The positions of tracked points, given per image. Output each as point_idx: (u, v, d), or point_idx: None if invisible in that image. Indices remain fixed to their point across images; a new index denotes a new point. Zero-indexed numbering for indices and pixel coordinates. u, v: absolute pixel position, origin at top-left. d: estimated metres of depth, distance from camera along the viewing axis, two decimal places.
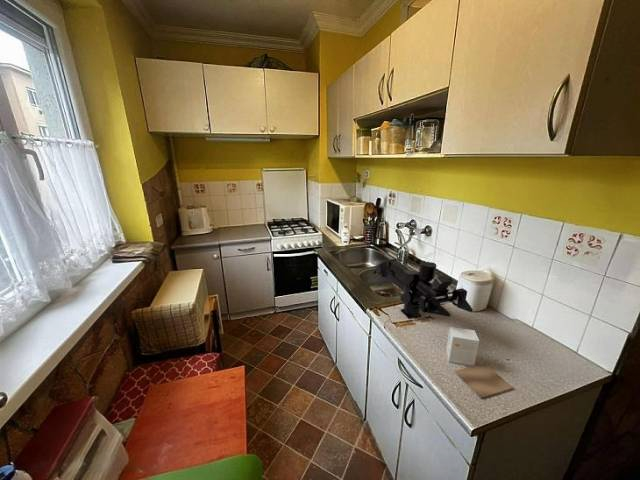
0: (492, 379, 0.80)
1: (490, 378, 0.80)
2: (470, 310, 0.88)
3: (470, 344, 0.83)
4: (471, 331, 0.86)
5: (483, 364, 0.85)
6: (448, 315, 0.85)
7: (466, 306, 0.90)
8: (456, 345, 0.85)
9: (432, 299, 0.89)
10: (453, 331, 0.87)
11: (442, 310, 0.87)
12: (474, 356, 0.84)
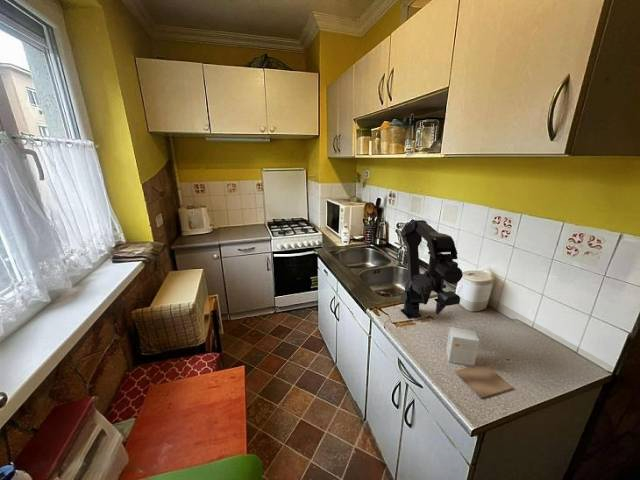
0: (492, 379, 0.80)
1: (490, 378, 0.80)
2: None
3: (470, 344, 0.83)
4: (471, 331, 0.87)
5: (483, 364, 0.85)
6: None
7: None
8: (456, 345, 0.85)
9: None
10: (453, 331, 0.87)
11: None
12: (474, 356, 0.84)
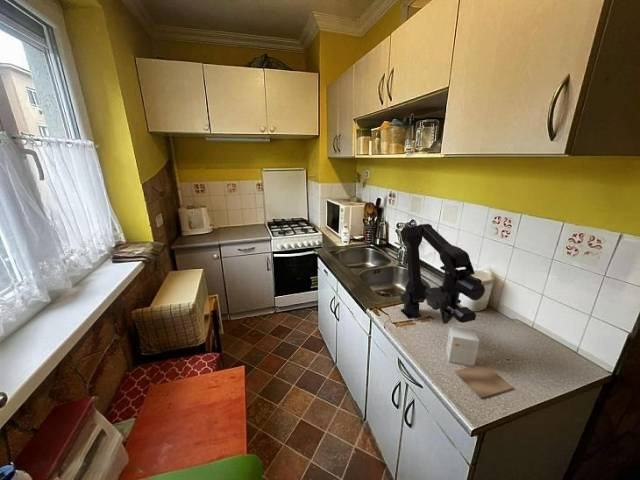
0: (492, 379, 0.80)
1: (490, 378, 0.80)
2: None
3: (470, 344, 0.83)
4: (471, 331, 0.87)
5: (483, 364, 0.85)
6: None
7: None
8: (456, 345, 0.85)
9: None
10: (453, 331, 0.87)
11: None
12: (474, 356, 0.84)
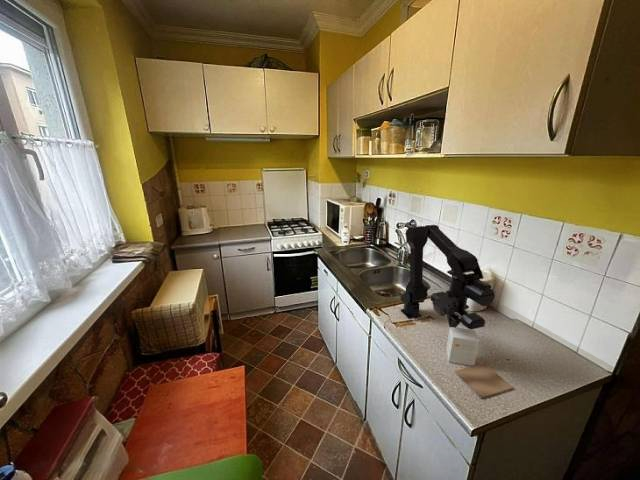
0: (492, 379, 0.80)
1: (490, 378, 0.80)
2: None
3: (470, 344, 0.83)
4: (471, 331, 0.86)
5: (483, 364, 0.85)
6: None
7: None
8: (456, 345, 0.85)
9: None
10: (453, 331, 0.87)
11: None
12: (474, 357, 0.84)
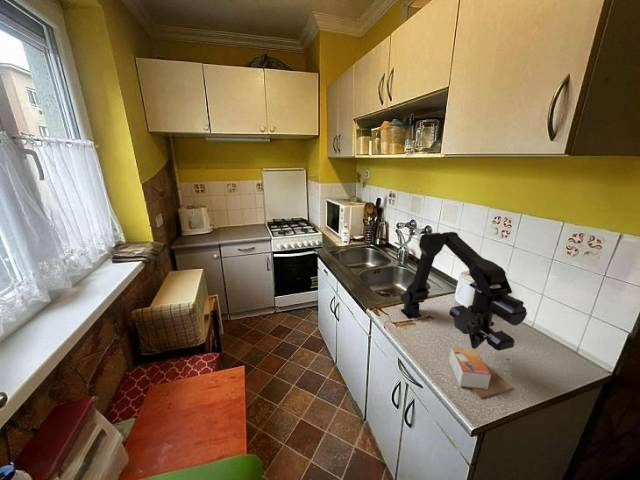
0: (492, 379, 0.80)
1: (490, 378, 0.80)
2: None
3: None
4: (485, 377, 0.75)
5: None
6: None
7: None
8: None
9: None
10: (463, 378, 0.76)
11: None
12: None
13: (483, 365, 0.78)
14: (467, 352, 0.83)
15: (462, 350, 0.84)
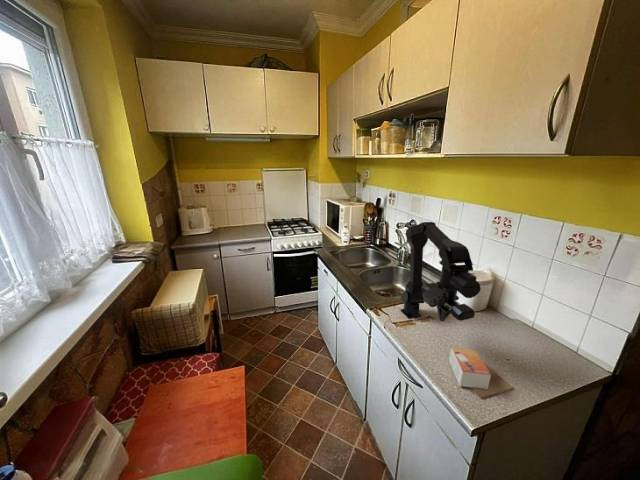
0: (492, 379, 0.80)
1: (490, 378, 0.80)
2: None
3: None
4: (485, 377, 0.75)
5: None
6: None
7: None
8: None
9: None
10: (463, 378, 0.76)
11: None
12: None
13: (483, 365, 0.78)
14: (467, 352, 0.83)
15: (462, 350, 0.84)
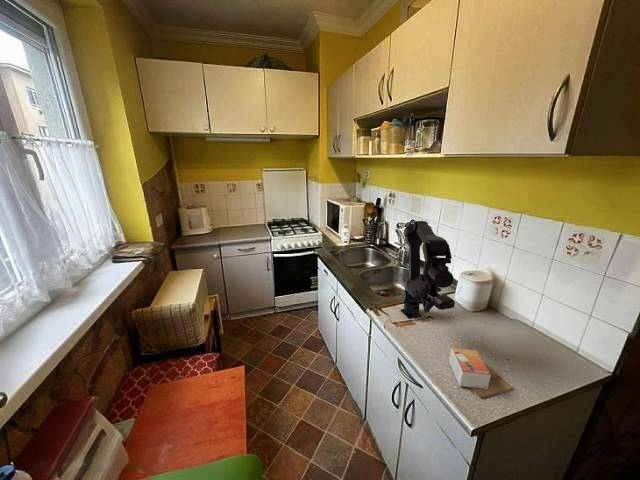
0: (492, 379, 0.80)
1: (490, 378, 0.80)
2: None
3: None
4: (485, 377, 0.75)
5: None
6: None
7: None
8: None
9: None
10: (463, 378, 0.76)
11: None
12: None
13: (483, 365, 0.78)
14: (467, 352, 0.83)
15: (462, 350, 0.84)
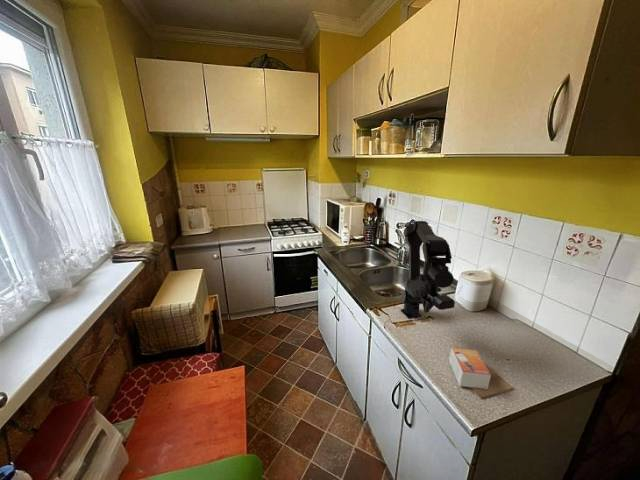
0: (492, 379, 0.80)
1: (490, 378, 0.80)
2: None
3: None
4: (485, 377, 0.75)
5: None
6: None
7: None
8: None
9: None
10: (463, 378, 0.76)
11: None
12: None
13: (483, 365, 0.78)
14: (467, 352, 0.83)
15: (462, 350, 0.84)
